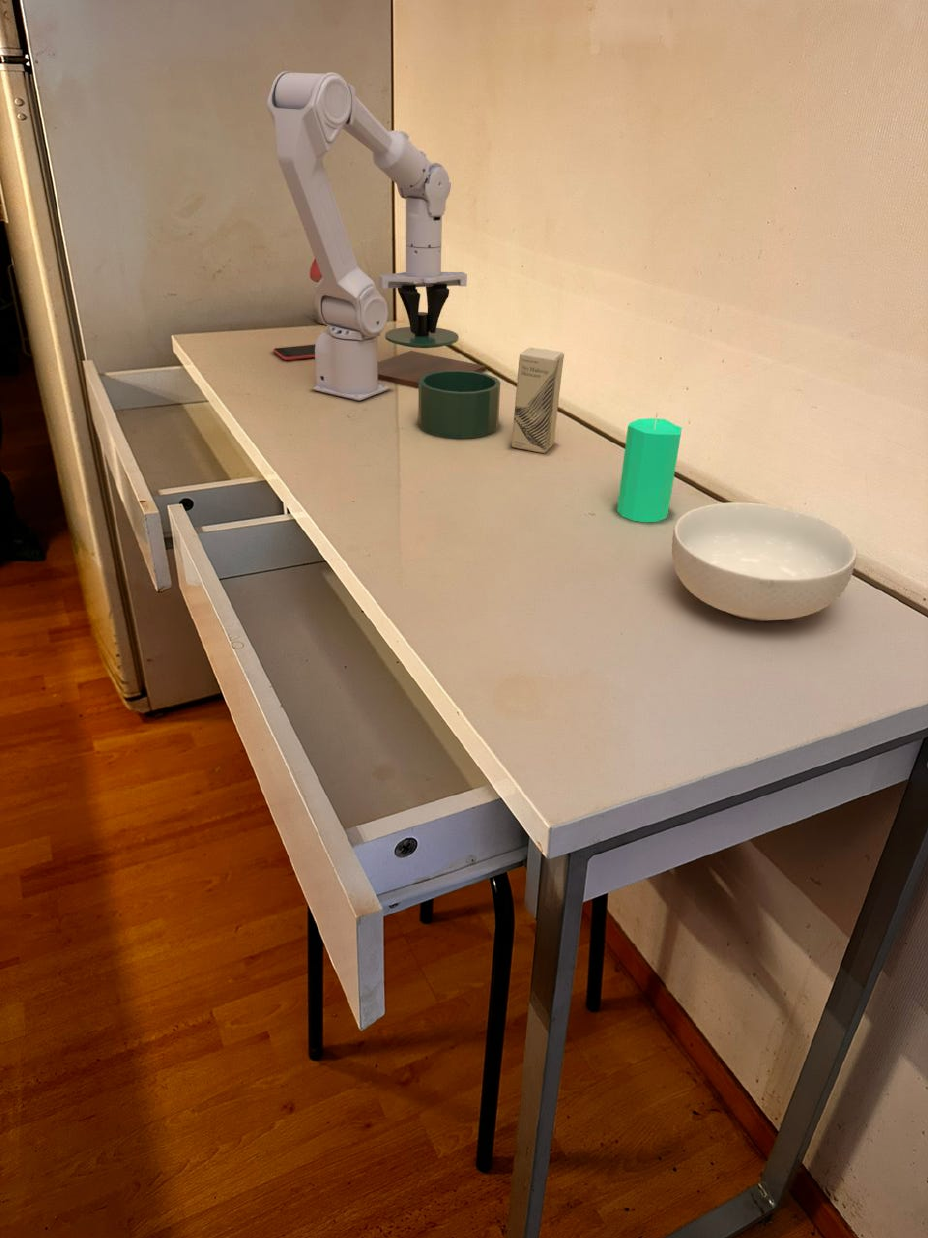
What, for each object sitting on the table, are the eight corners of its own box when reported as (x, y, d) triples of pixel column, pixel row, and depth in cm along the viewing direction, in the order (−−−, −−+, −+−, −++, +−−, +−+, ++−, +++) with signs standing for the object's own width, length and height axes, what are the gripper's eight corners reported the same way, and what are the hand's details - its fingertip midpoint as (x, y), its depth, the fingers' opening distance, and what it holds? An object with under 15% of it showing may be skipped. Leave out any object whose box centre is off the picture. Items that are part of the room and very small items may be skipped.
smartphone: (358, 350, 162) (284, 357, 156) (358, 353, 163) (284, 360, 157) (343, 341, 168) (271, 348, 161) (343, 344, 168) (271, 351, 162)
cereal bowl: (694, 548, 98) (705, 487, 94) (853, 589, 91) (872, 525, 87) (638, 613, 85) (648, 546, 82) (818, 667, 78) (838, 596, 75)
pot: (403, 427, 129) (403, 382, 125) (446, 408, 137) (447, 365, 134) (470, 444, 124) (472, 398, 120) (511, 423, 132) (514, 379, 129)
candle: (637, 525, 102) (652, 423, 96) (606, 506, 107) (619, 407, 101) (678, 517, 105) (695, 417, 99) (647, 498, 109) (661, 401, 103)
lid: (376, 347, 148) (375, 318, 145) (395, 330, 158) (395, 303, 156) (450, 353, 146) (450, 324, 143) (464, 336, 156) (465, 308, 154)
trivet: (356, 373, 152) (356, 369, 151) (410, 355, 163) (410, 350, 163) (435, 391, 145) (435, 386, 144) (486, 370, 156) (486, 365, 156)
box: (510, 448, 123) (516, 353, 116) (520, 438, 127) (527, 345, 120) (547, 454, 121) (555, 358, 115) (556, 444, 125) (565, 351, 118)
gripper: (387, 250, 138) (388, 340, 145) (474, 248, 143) (471, 335, 150) (374, 243, 144) (375, 329, 151) (459, 241, 148) (456, 325, 155)
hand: (422, 332), depth 151 cm, fingers closed on lid, 2 cm apart
